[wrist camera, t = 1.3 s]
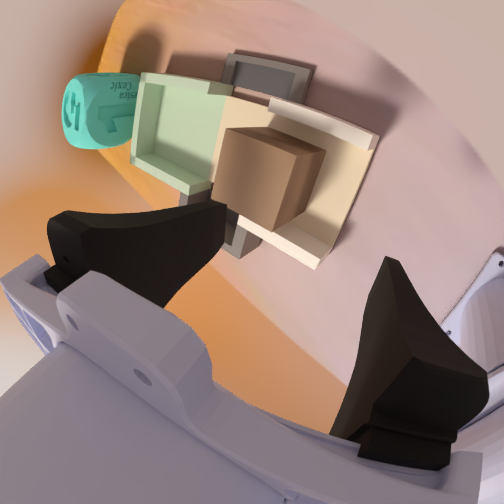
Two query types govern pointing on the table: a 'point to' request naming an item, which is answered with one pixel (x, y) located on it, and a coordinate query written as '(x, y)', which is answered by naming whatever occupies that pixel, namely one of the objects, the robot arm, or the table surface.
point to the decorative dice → (100, 109)
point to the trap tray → (249, 115)
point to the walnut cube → (266, 175)
